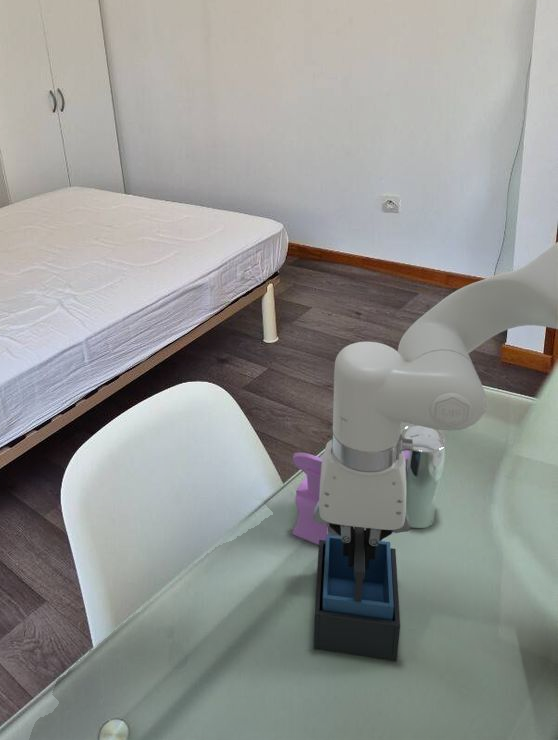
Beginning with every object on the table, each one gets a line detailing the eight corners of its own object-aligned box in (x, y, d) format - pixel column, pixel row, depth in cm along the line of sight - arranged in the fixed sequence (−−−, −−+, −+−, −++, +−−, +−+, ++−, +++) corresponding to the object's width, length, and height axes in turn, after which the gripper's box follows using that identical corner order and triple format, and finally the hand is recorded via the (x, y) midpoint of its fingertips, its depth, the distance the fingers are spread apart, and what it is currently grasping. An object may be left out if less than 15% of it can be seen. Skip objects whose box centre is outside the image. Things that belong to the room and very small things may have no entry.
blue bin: (386, 584, 95) (392, 512, 90) (389, 651, 86) (396, 576, 81) (324, 576, 97) (326, 505, 92) (321, 641, 88) (323, 567, 82)
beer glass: (391, 527, 105) (398, 450, 99) (390, 496, 111) (396, 421, 105) (439, 533, 104) (450, 455, 97) (436, 501, 110) (445, 425, 103)
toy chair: (358, 514, 108) (362, 438, 102) (336, 552, 102) (339, 473, 95) (309, 496, 113) (310, 421, 106) (285, 531, 106) (285, 454, 100)
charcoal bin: (392, 583, 96) (395, 548, 93) (396, 662, 86) (400, 626, 83) (318, 573, 99) (319, 539, 96) (313, 649, 88) (314, 613, 85)
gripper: (432, 430, 81) (419, 544, 89) (299, 419, 85) (299, 530, 93) (439, 472, 75) (424, 592, 83) (295, 459, 78) (294, 575, 86)
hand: (358, 558), depth 88 cm, fingers closed on blue bin, 1 cm apart
